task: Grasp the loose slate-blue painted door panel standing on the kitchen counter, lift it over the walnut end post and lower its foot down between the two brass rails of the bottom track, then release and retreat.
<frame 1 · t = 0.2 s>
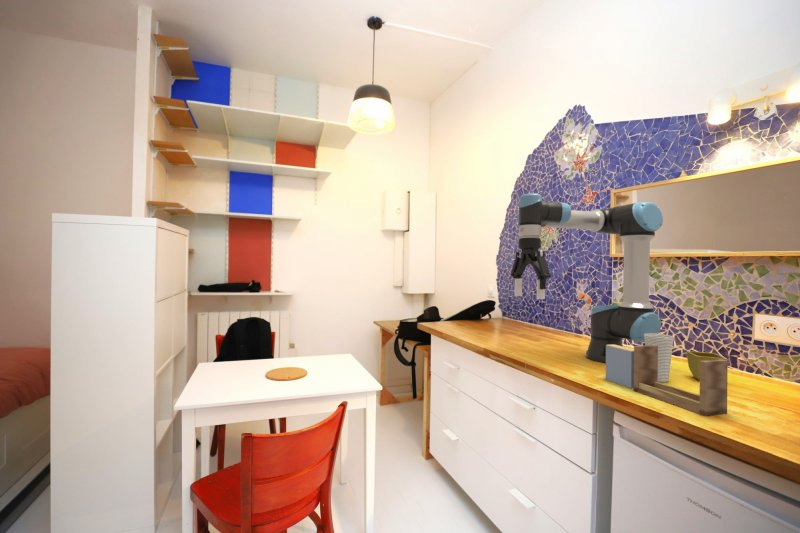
hand: (528, 297, 132), 28 cm above the kitchen counter, fingers open, 13 cm apart
door panel: (621, 383, 124), on the kitchen counter
cup: (658, 380, 129), on the kitchen counter
flower pot: (705, 380, 130), on the kitchen counter
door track: (676, 400, 108), on the kitchen counter
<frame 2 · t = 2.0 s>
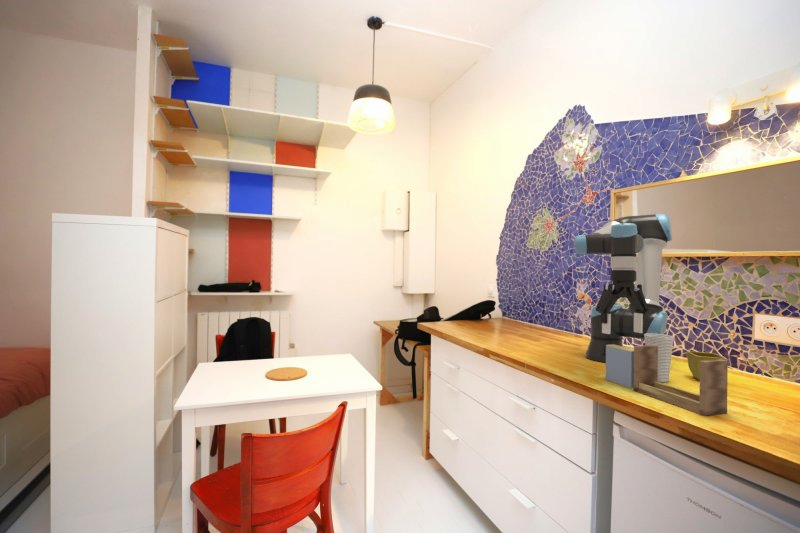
hand: (622, 333, 124), 17 cm above the kitchen counter, fingers open, 13 cm apart
nothing on the kitchen counter moved.
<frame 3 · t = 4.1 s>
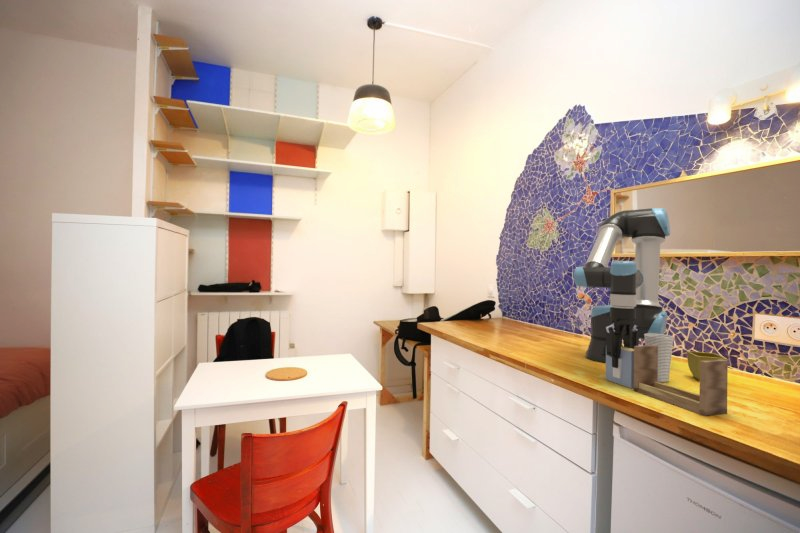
hand: (622, 376, 124), 2 cm above the kitchen counter, fingers closed on door panel, 3 cm apart
door panel: (621, 383, 124), on the kitchen counter, touching gripper
everything else where it was.
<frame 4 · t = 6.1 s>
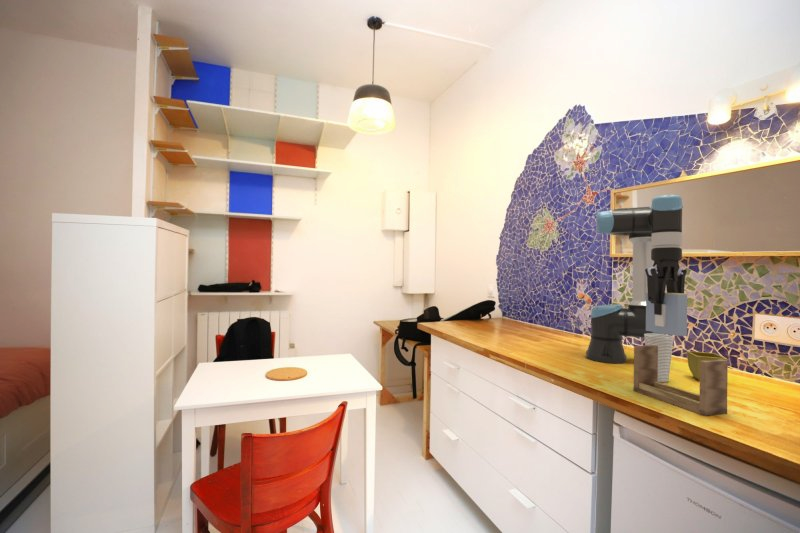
hand: (665, 325, 110), 21 cm above the kitchen counter, fingers closed on door panel, 3 cm apart
door panel: (665, 333, 110), point 19 cm above the kitchen counter, touching gripper
everything else where it was.
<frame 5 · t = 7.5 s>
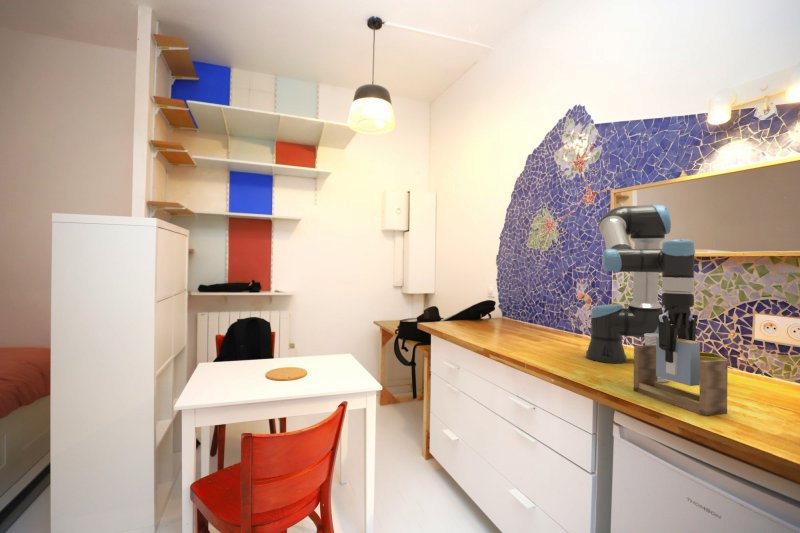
hand: (676, 373, 108), 8 cm above the kitchen counter, fingers closed on door panel, 3 cm apart
door panel: (676, 380, 108), point 6 cm above the kitchen counter, touching gripper
everything else where it was.
when the fingers open (4 cm above the kitchen counter, at t = 8.6 s): door panel stays where it is, resting on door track.
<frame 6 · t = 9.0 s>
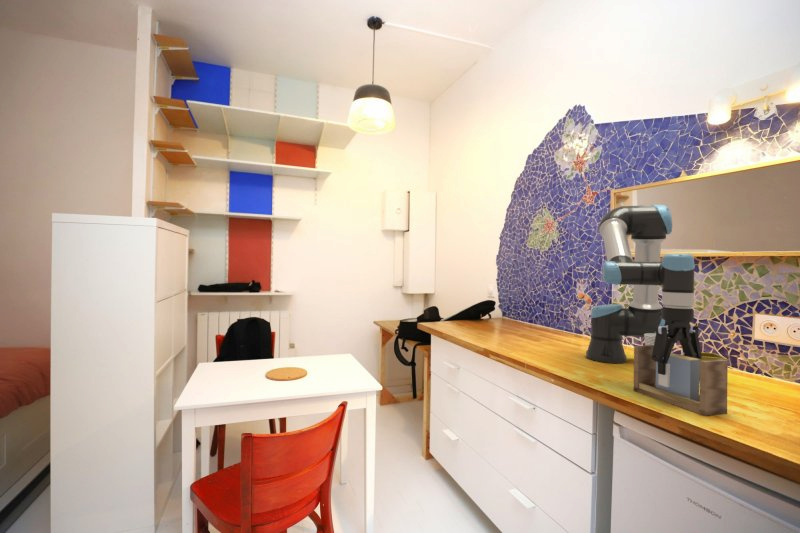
hand: (676, 384, 108), 5 cm above the kitchen counter, fingers open, 9 cm apart
door panel: (676, 396, 108), point 1 cm above the kitchen counter, touching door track
everything else where it was.
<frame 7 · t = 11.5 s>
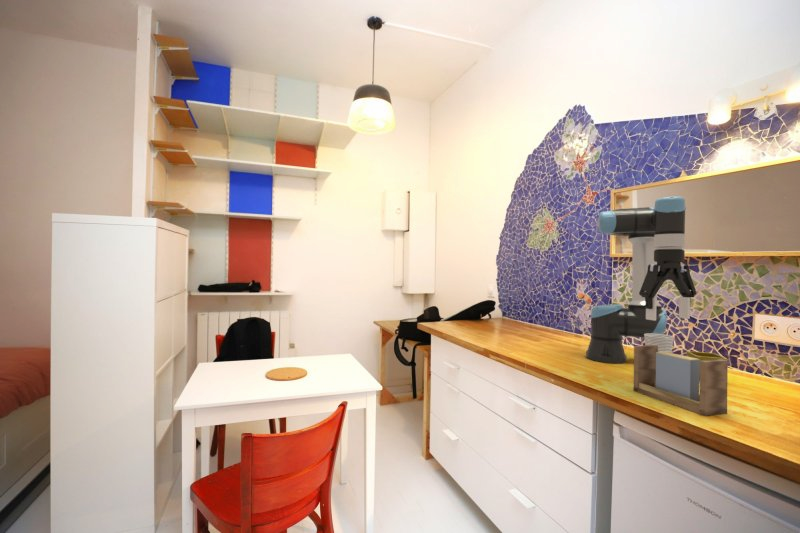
hand: (667, 319, 112), 23 cm above the kitchen counter, fingers open, 13 cm apart
nothing on the kitchen counter moved.
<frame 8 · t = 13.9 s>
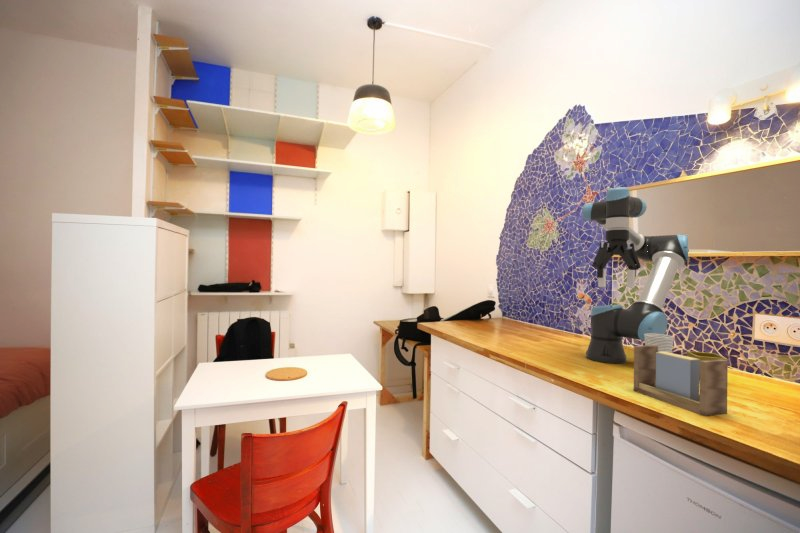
hand: (616, 287, 137), 32 cm above the kitchen counter, fingers open, 13 cm apart
nothing on the kitchen counter moved.
at the end: door panel inside the target area on the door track (0.1 cm from its centre), point 1.2 cm above the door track's base; door panel tilted 0°; the gripper is holding nothing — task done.
